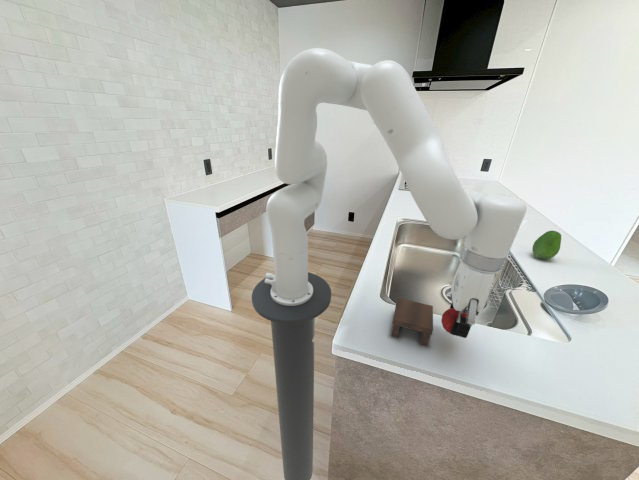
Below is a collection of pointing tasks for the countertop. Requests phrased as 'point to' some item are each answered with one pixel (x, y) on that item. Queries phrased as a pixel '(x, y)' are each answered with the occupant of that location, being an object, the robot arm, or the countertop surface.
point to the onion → (450, 318)
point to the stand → (413, 318)
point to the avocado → (547, 245)
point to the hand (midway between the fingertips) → (456, 324)
